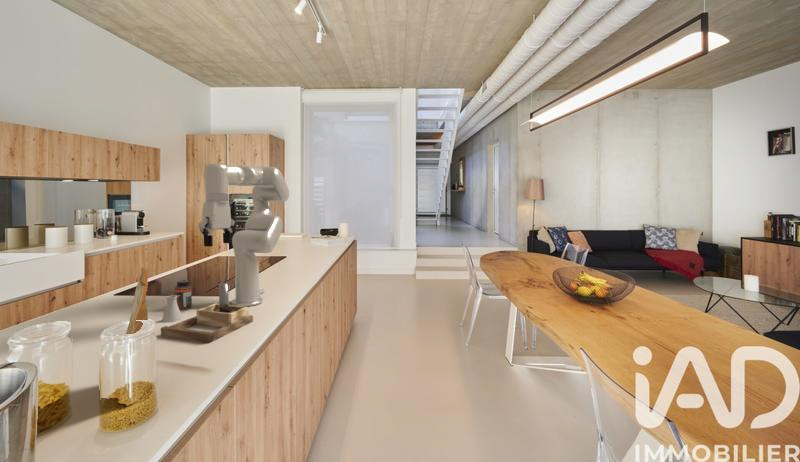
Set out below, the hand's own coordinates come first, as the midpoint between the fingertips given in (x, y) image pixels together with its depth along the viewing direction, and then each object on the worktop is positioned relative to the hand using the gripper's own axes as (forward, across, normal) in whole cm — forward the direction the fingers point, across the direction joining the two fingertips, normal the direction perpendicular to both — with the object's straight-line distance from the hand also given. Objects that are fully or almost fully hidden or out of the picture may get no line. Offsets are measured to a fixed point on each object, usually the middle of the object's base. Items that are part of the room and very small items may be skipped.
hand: (218, 244), depth 136 cm
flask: (+28, +9, -12) cm, 32 cm away
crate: (+27, +6, +7) cm, 28 cm away
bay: (+28, +13, +7) cm, 31 cm away
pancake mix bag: (+28, +48, +18) cm, 59 cm away
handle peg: (+26, +6, +7) cm, 27 cm away
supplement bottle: (+28, -7, -23) cm, 37 cm away
